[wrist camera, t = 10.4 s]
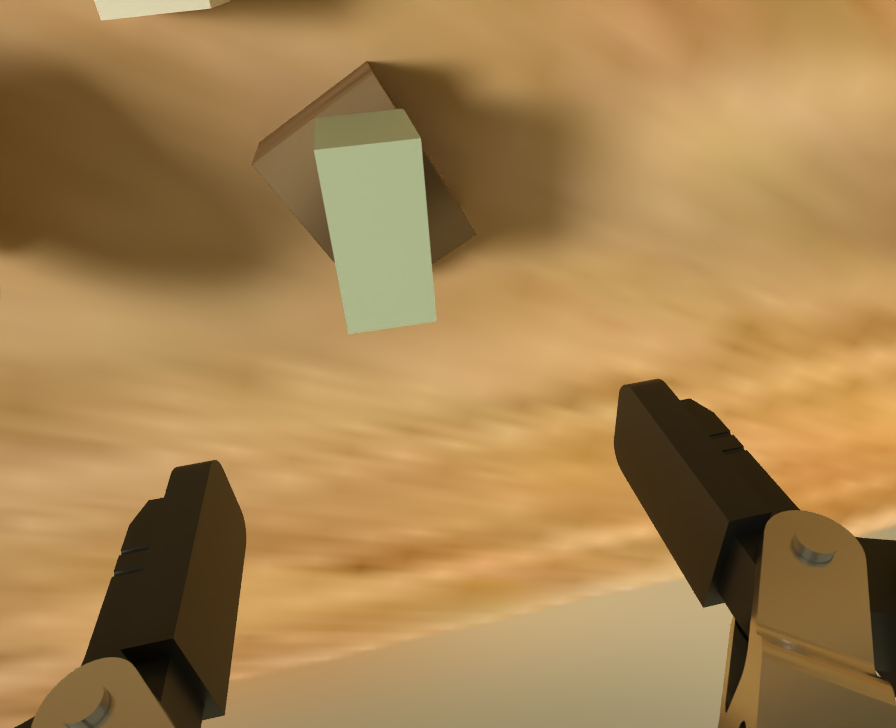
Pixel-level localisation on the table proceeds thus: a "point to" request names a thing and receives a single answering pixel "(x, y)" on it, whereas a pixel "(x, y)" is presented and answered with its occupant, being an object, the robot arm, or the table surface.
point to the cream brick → (150, 7)
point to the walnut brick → (296, 176)
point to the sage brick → (377, 217)
